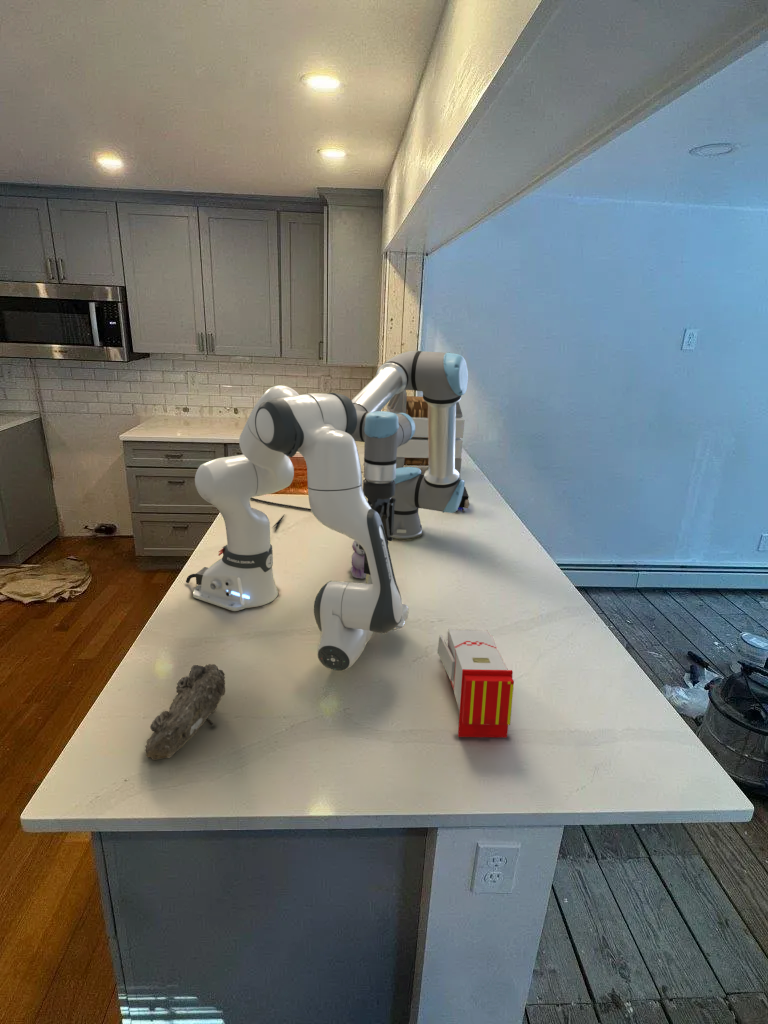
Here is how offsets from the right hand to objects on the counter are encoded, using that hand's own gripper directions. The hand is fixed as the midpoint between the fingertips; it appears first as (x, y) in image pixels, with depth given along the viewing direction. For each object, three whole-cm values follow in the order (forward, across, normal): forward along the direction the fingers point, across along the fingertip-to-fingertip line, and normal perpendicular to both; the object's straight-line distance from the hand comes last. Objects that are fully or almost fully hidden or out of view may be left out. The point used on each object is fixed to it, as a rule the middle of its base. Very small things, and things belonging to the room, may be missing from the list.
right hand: (375, 569), depth 140 cm
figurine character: (+14, -93, -14) cm, 95 cm away
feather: (+14, -44, -64) cm, 78 cm away
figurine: (+14, -21, -15) cm, 30 cm away
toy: (+14, +15, +32) cm, 38 cm away
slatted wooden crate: (+14, -131, -49) cm, 140 cm away
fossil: (+14, +51, -10) cm, 54 cm away
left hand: (+8, -1, 0) cm, 8 cm away
